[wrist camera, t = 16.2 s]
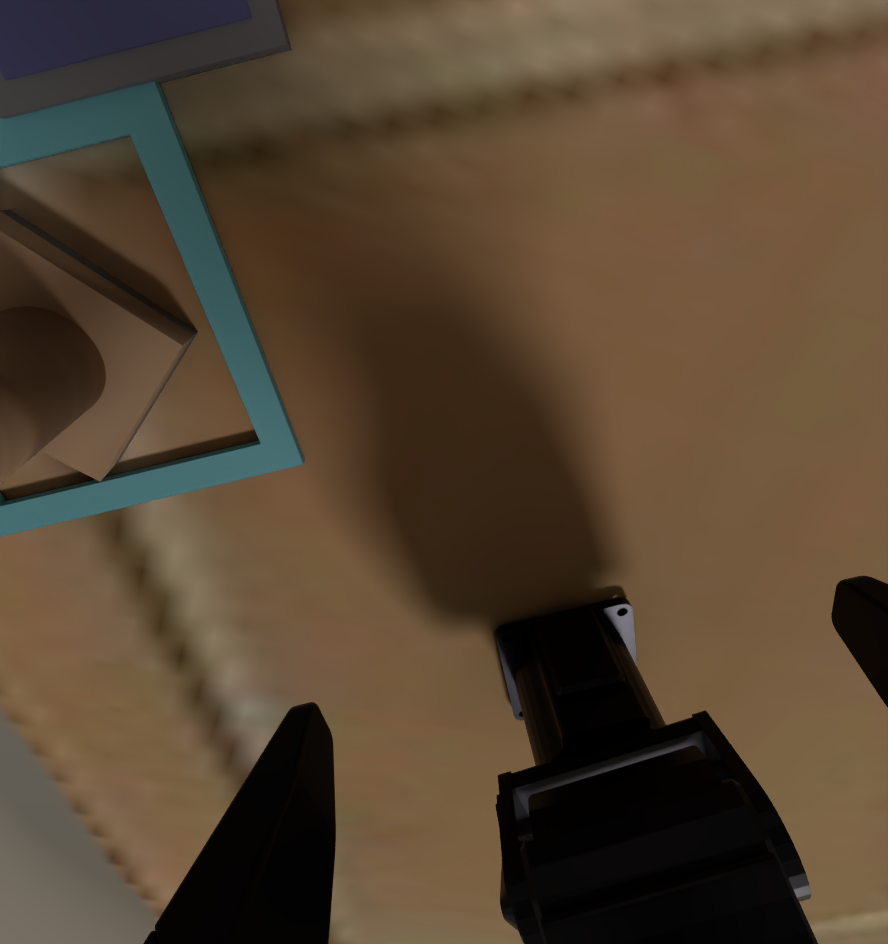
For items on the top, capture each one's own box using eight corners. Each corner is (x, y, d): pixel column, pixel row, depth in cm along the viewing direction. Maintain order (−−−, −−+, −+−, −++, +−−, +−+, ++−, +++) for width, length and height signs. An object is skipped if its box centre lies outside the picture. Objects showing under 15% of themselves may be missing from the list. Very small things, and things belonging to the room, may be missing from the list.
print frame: (304, 459, 22) (303, 464, 21) (-5, 533, 22) (-11, 539, 22) (156, 74, 16) (150, 72, 15) (-269, 182, 16) (-284, 183, 16)
